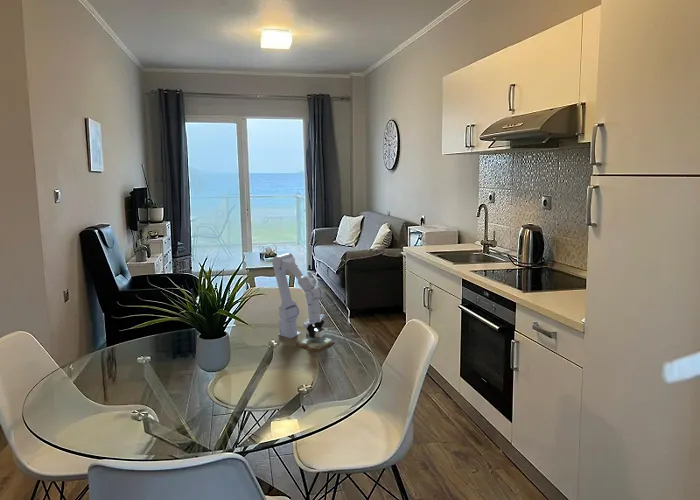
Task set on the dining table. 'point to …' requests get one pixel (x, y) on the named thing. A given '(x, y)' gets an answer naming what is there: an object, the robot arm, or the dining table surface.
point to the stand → (314, 344)
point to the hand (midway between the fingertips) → (315, 335)
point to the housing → (317, 335)
